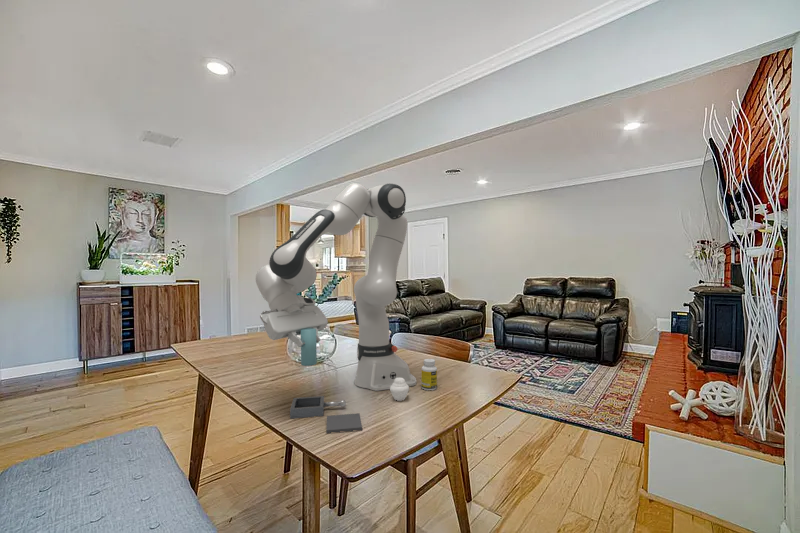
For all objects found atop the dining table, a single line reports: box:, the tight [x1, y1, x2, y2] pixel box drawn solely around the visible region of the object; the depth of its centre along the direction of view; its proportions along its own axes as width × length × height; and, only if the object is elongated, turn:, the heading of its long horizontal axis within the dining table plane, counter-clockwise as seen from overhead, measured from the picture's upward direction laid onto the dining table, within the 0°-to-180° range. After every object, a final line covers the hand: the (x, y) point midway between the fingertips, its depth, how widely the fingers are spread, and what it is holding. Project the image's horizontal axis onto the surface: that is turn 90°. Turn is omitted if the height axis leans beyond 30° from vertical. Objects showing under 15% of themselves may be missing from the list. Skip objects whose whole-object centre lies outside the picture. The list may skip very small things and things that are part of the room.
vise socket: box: [289, 395, 347, 420], centre depth 104 cm, size 16×9×2 cm, turn 101°
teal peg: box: [300, 328, 318, 367], centre depth 104 cm, size 4×4×10 cm
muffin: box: [389, 377, 410, 402], centre depth 113 cm, size 6×6×7 cm
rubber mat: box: [325, 413, 363, 434], centre depth 94 cm, size 9×9×1 cm
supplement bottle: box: [420, 358, 438, 391], centre depth 123 cm, size 5×5×10 cm
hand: (310, 343), depth 103 cm, fingers closed on teal peg, 4 cm apart
